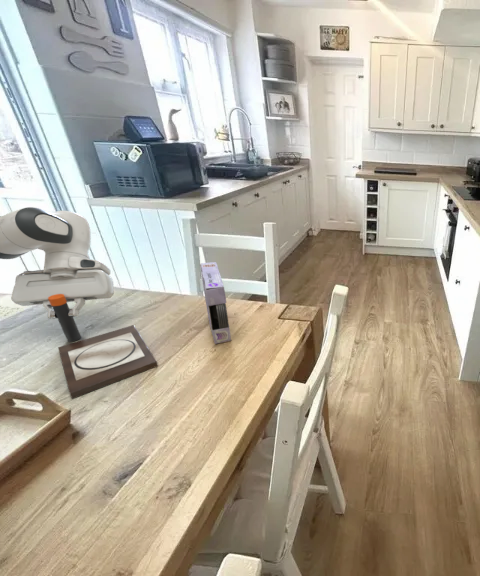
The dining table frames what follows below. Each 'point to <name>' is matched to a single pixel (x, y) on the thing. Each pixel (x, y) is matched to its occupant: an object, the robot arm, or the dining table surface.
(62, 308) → the marker
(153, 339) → the dining table surface
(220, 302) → the cake pan box
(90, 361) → the picture frame
